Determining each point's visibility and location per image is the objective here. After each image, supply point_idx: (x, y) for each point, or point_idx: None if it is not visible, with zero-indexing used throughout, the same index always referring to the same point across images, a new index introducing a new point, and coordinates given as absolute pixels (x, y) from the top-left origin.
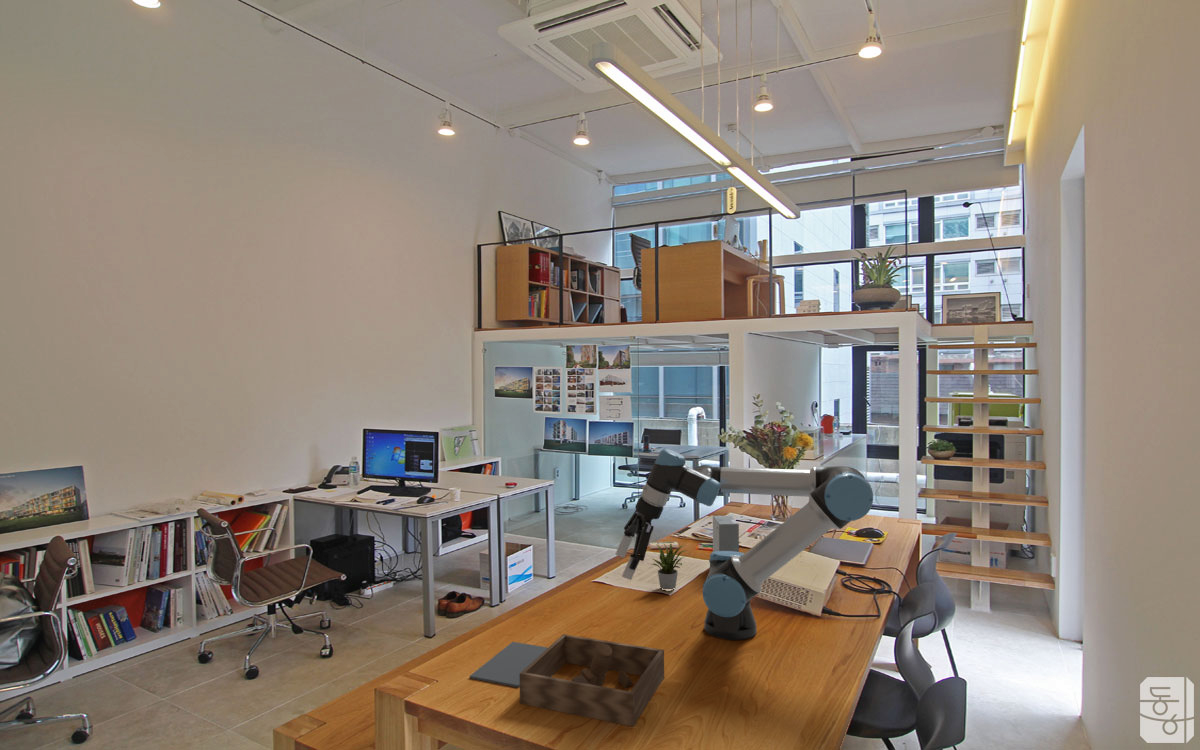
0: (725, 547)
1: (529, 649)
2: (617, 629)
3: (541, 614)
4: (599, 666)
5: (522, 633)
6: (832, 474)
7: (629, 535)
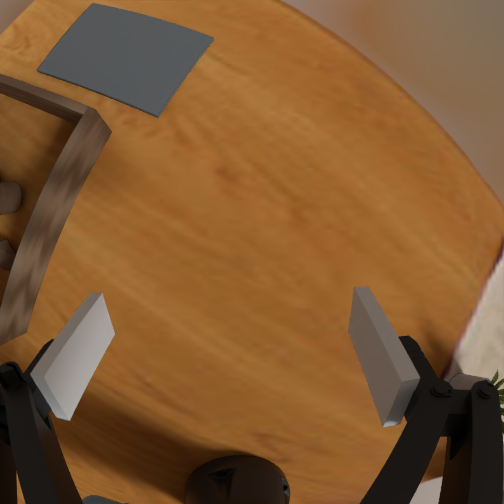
0: None
1: (168, 65)
2: (267, 268)
3: (366, 103)
4: None
5: (265, 56)
6: None
7: (409, 415)
